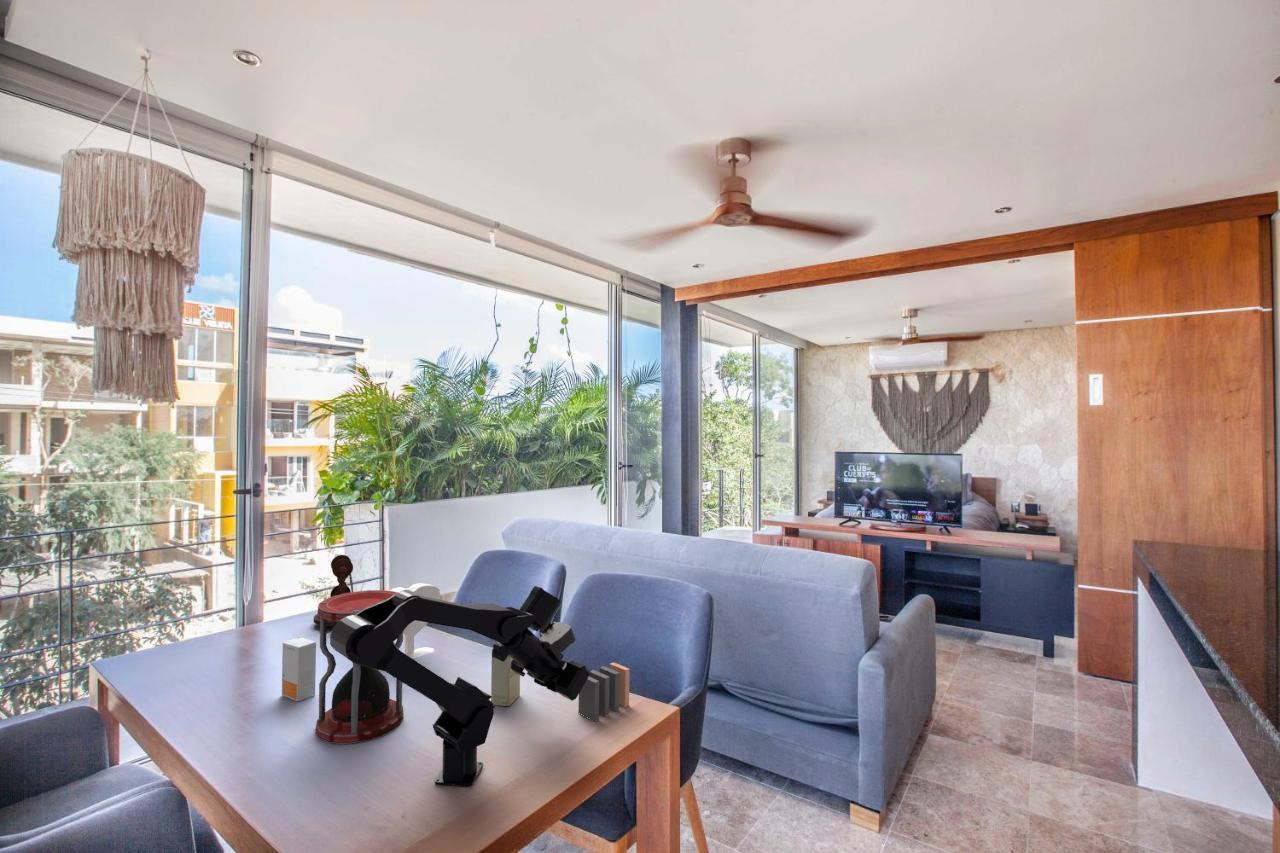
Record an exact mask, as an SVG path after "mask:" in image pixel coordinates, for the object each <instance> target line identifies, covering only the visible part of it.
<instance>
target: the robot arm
mask: <svg viewBox="0 0 1280 853" xmlns="http://www.w3.org/2000/svg"><path fill="white" fill-rule="evenodd" d="M561 607H562V602H561V600H560V599H559V598H558V597H556V596H555V595H553V594H551V593H549V592H548V591H546V590H544V589H543V587H541V586H537V585H534V586H533V587H532V589H531V591H530V593H529V595H528V596H527V597H526V599H525V600H524V602H523V603H522V605H521V606H520V608H515V607H514V606H500V605H498V604H496V603H476V604H464V603H458V602H453V601H448V600H442V599H440V600H439V599H434V598H429V597H424V596H420V595H415V594H412V593H410V592H407V591H401V592H398V593H396V594H394V595H393V596H391V597H390V598H388V599H387V600H384V601H382V602H379V603H377V604H374V605H372V606H369V607H367V608H365V609H363V610H361V611H360V612H358V613H357V614H355V615H351V616H347V617H345V618H343V619H341V620H340V621H339V622H338V623H337V624H336V625H335V626H334V628H333V627H332V630H331V632H330V636H329V641H330V642H329V644H330V646H331V648H332V649H333V650H334V651H336V652H337V653H339V654H340V655H342V656H343V657H344V658H346V659H348V660H349V661H350V662H351V663H352V662H353V663H356V664H359V665H362V666H365V667H368V668H371V669H375V670H379V671H380V672H385V673H386V674H388V675H390V676H392V677H393V678H395V679H398V680H400V681H401V682H402V684H405V685H406V686H408V687H410V688H411V689H413V690H415V691H416V692H417V693H419V694H421V695H422V696H424V697H426V698H427V699H429V700H431V701H432V702H434V703H435V704H436V705H437V707H438V709H439V710H440V711H441V713H440V714H439V716H438V718H437V719H436V720H435V722H434V723H433V724H432V728H433V732H434V733H435V736H437V737H439V738H441V739H442V765H441V766H442V768H441V770H440V772H439V774H438V775H437V777H436V778H435V780H434V784H435V785H436V786H437V785H439V786H440V785H441V786H457V787H458V786H460V787H471V786H473V785H474V784H475V781H476V779H478V776H479V774H480V772H481V771H482V769H483V767H484V762H483V761H478V747H479V746H481V745H484V744H486V741H487V738H488V734H489V731H490V728H491V723H492V721H493V718H494V714H495V706H496V705H494V704H493V703H492V702H491V697H492V696H491V695H490V694H488V693H487V692H485V691H484V690H481V689H479V687H478V686H476V685H475V684H473V683H471V682H470V681H468V680H465V679H463V678H462V677H460V676H458V677H457V678H456V680H455V682H454V683H453V682H449V681H447V680H446V679H445V678H443V677H441V676H440V675H438V674H436V673H435V672H433V670H430V669H429V668H427V667H426V666H425V665H423V664H421V663H420V662H418V661H416V660H415V658H410V657H409V656H407V655H406V654H404V653H405V652H402V651H401V650H400V648H399V649H398V647H397V646H396V645H395V644H396V641H397V638H398V637H399V636H400V635H401V633H402V632H403V631H404V630H405V628H406V627H407V626H408V625H409V624H410V623H412V622H413V621H415V620H416V621H422V622H427V623H428V624H434V625H440V626H446V627H451V628H458V629H463V630H469V631H472V632H474V633H476V634H479V635H481V636H484V637H485V638H488V639H491V640H492V641H495V643H493V644H492V649H493V650H492V649H491V658H492V657H494V658H496V659H498V660H500V661H502V662H504V661H505V660H506V658H507V657H508V655H509V656H510V657H511V658H512V659H513V660H512V662H511V669H512V670H513V671H514V672H515V673H517V674H519V675H520V677H525V676H526V675H528V676H529V677H530V678H532V679H533V681H534V682H533V683H535V684H537V685H539V686H541V687H545V688H546V689H548V690H549V691H551V692H554V693H558V694H559V695H561V696H562V697H564V698H566V699H568V700H569V701H571V702H572V701H574V700H576V699H577V698H578V697H579V693H580V691H581V689H582V687H583V686H584V684H585V682H586V681H587V679H588V677H589V675H590V671H591V670H590V668H588V667H587V666H586V665H584V664H582V663H580V662H578V661H576V660H572V661H570V662H568V661H566V660H563V659H564V655H563V652H565V650H566V649H568V647H570V645H572V644H574V643H575V642H576V640H577V639H576V636H575V634H574V631H573V628H572V626H571V625H570V624H566V623H563V622H560V621H558V622H556V621H553V622H552V620H553V619H554V617H555V615H556V614H557V612H558V610H559V609H560V608H561ZM532 630H533V631H535V632H539V634H538V635H539V638H538V636H537V635H536V634H534V633H533V632H532ZM353 663H352V664H353ZM525 671H526V673H525Z"/></svg>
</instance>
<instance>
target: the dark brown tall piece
mask: <svg viewBox="0 0 1280 853" xmlns="http://www.w3.org/2000/svg"><path fill="white" fill-rule="evenodd" d="M330 568H331V570H332V574H333V575H334V577H336V579H337V580H336V581H337V583H338V585H336V586H334V587H333V588H332V589H331V590H330V594H329V595H330V597H333V596H336V595H340V594H344V593H350V592H354V584H353V577H352V573H353V570H354V564H353V563H352V559H351V557H349V556H347V555H346V554H338V555H337V556H335V557H333V558H332V559H331V561H330ZM346 579H349V584H350V587H349V586H348V585H347V582H346ZM313 623H314V624H315V625H318V626H320V616H319V615H318V613H316V614H315V615H314V616H313ZM333 623H334V621H333V620H327V627H333Z"/></svg>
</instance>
